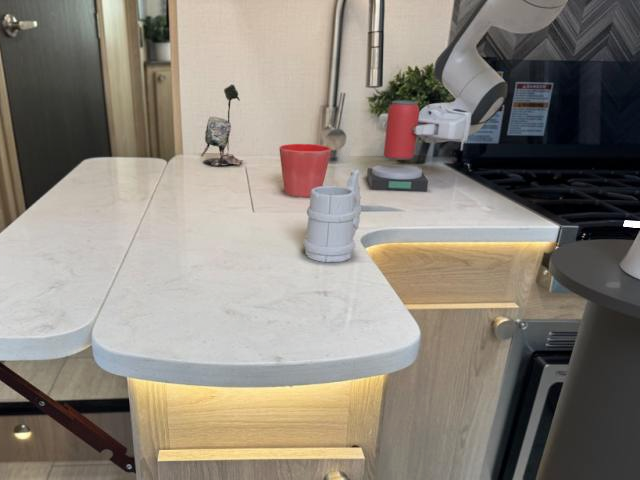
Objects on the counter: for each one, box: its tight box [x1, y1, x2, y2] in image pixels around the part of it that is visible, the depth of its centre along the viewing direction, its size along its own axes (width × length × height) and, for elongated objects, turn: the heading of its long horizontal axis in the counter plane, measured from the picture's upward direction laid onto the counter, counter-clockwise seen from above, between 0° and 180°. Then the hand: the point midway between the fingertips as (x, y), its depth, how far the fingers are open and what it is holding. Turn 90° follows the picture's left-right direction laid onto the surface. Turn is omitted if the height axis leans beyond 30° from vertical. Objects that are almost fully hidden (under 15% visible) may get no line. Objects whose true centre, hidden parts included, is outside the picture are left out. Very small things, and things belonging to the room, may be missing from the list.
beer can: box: [383, 100, 420, 161], centre depth 124 cm, size 7×7×12 cm
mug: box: [303, 169, 363, 263], centre depth 84 cm, size 8×12×12 cm, turn 139°
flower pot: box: [279, 143, 332, 198], centre depth 119 cm, size 11×11×10 cm
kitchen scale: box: [366, 164, 429, 192], centre depth 128 cm, size 12×12×4 cm
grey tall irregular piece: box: [200, 84, 243, 166], centre depth 145 cm, size 8×11×20 cm
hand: (399, 128), depth 123 cm, fingers closed on beer can, 6 cm apart
